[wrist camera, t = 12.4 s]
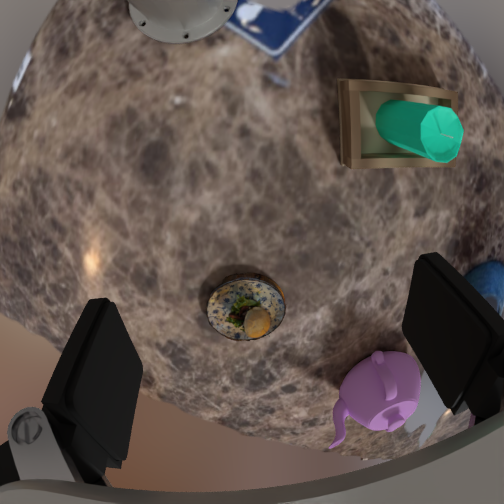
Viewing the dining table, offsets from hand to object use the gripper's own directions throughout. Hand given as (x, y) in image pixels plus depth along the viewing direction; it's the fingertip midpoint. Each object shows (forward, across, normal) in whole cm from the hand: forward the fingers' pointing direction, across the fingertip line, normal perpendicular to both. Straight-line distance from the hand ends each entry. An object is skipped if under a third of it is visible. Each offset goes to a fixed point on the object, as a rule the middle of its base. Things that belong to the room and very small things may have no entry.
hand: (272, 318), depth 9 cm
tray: (+30, -21, -2) cm, 37 cm away
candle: (+30, -20, -2) cm, 36 cm away
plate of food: (+31, +2, +23) cm, 38 cm away
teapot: (+30, -20, +46) cm, 59 cm away
